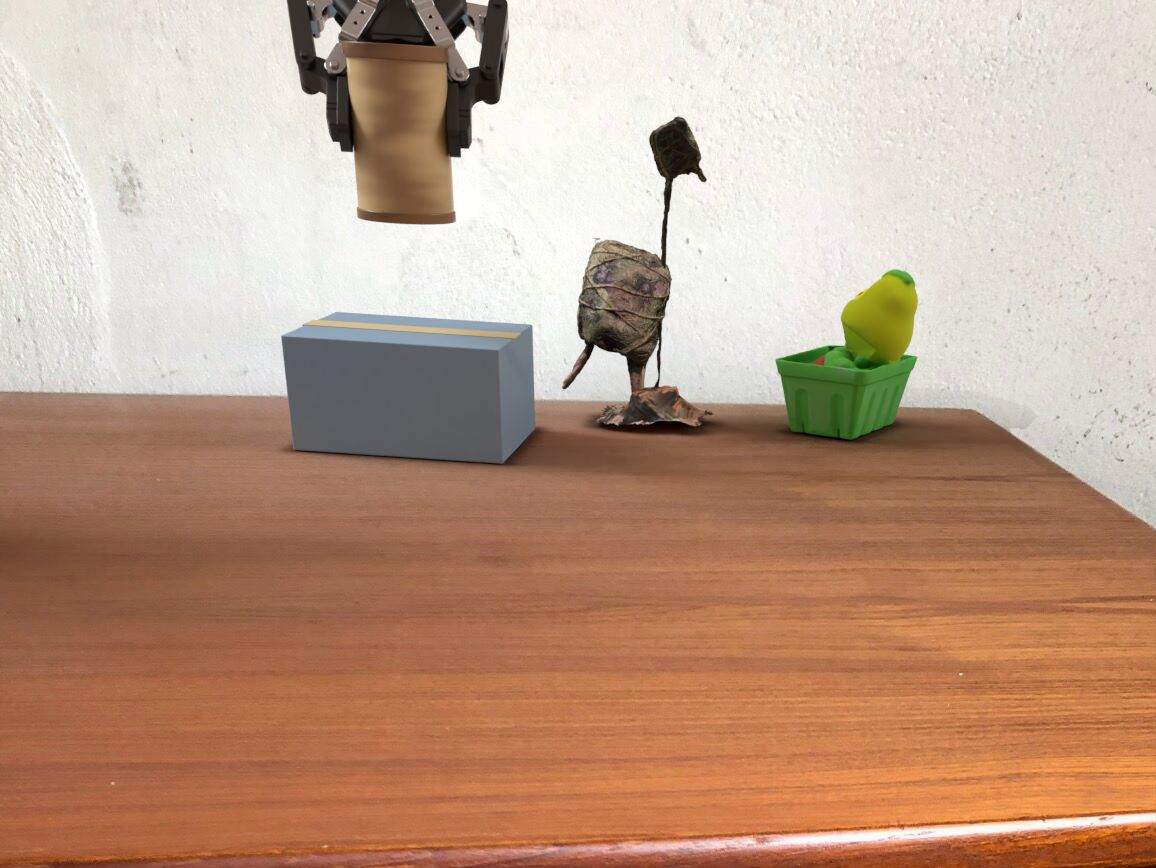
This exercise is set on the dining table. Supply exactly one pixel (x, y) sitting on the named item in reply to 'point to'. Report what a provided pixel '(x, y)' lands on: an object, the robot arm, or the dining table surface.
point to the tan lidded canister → (400, 132)
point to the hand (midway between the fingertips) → (399, 143)
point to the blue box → (410, 386)
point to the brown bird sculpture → (637, 298)
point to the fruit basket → (856, 365)
